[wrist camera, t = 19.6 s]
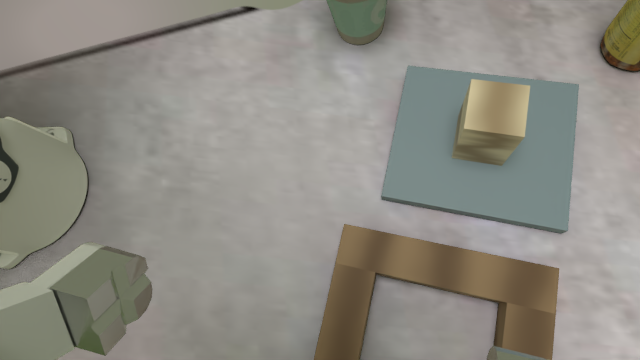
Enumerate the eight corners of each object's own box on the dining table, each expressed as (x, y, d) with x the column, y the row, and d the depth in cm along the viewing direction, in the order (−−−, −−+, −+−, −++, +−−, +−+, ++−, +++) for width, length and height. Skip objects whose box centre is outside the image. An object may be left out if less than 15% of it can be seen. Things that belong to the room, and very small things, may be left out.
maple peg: (451, 158, 42) (463, 128, 35) (458, 115, 43) (471, 78, 36) (501, 166, 41) (524, 137, 34) (507, 122, 42) (530, 85, 35)
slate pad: (381, 199, 44) (381, 196, 42) (407, 72, 48) (407, 65, 46) (561, 233, 40) (567, 230, 38) (572, 91, 44) (578, 84, 42)
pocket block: (302, 431, 38) (295, 441, 35) (347, 229, 43) (344, 224, 40) (526, 506, 34) (538, 525, 31) (546, 271, 39) (559, 268, 36)
